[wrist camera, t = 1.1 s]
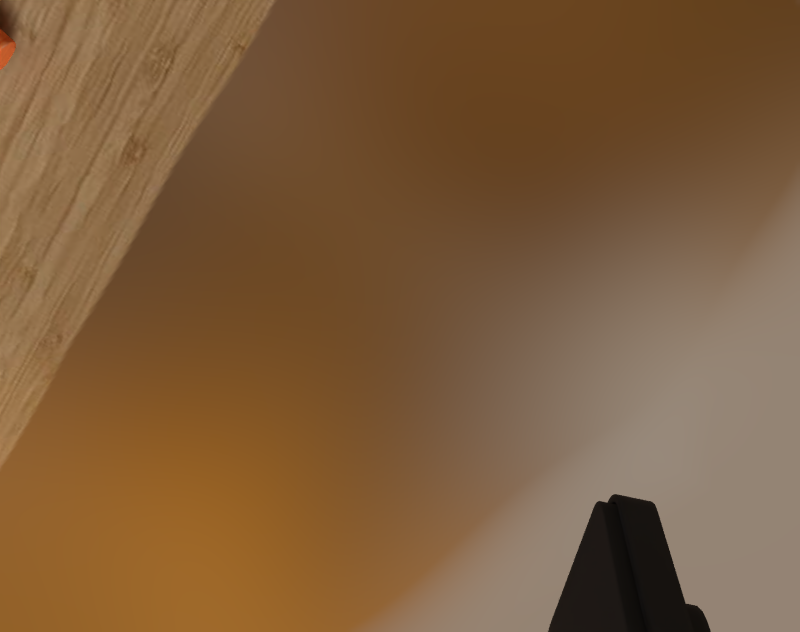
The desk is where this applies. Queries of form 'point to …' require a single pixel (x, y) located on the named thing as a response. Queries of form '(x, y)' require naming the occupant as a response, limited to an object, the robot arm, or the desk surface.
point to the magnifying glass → (5, 48)
